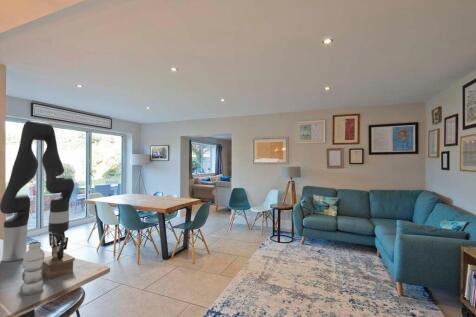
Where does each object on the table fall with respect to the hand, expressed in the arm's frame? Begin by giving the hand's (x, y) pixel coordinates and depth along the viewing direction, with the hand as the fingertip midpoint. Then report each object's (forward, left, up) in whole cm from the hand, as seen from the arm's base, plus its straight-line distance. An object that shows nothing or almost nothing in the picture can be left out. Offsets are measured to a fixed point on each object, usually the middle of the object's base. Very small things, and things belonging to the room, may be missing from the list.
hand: (57, 257), depth 110 cm
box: (0, 0, -8) cm, 8 cm away
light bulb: (+1, -10, -8) cm, 13 cm away
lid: (0, 0, -2) cm, 2 cm away
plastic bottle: (+10, -12, -8) cm, 18 cm away
